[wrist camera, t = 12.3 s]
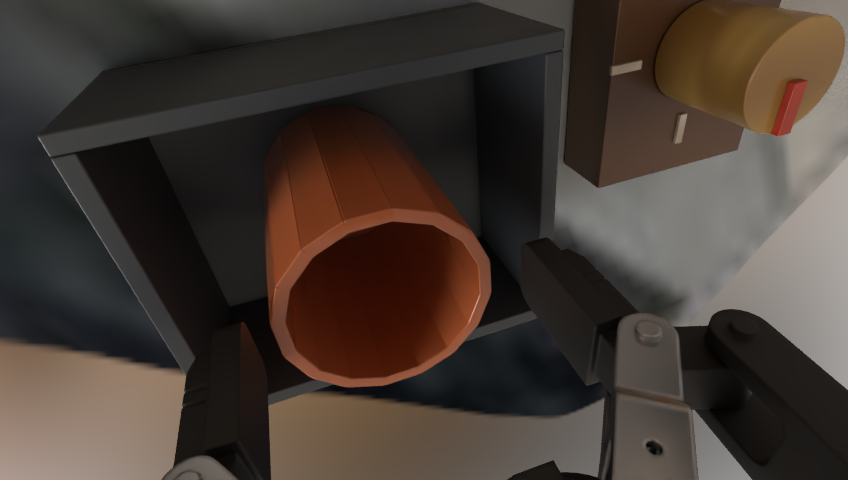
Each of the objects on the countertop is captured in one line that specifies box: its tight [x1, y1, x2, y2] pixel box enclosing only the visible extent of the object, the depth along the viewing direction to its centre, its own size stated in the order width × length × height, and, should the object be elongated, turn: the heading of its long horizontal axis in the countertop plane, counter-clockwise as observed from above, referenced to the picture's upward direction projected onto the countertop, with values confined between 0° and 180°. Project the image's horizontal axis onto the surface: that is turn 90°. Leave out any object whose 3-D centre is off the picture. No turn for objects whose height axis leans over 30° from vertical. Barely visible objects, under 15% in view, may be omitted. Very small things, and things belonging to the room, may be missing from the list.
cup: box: [262, 105, 491, 387], centre depth 17 cm, size 6×6×9 cm
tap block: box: [565, 0, 781, 188], centre depth 21 cm, size 11×8×3 cm
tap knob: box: [655, 0, 845, 136], centre depth 18 cm, size 4×4×5 cm
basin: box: [38, 3, 564, 405], centre depth 19 cm, size 12×14×6 cm
